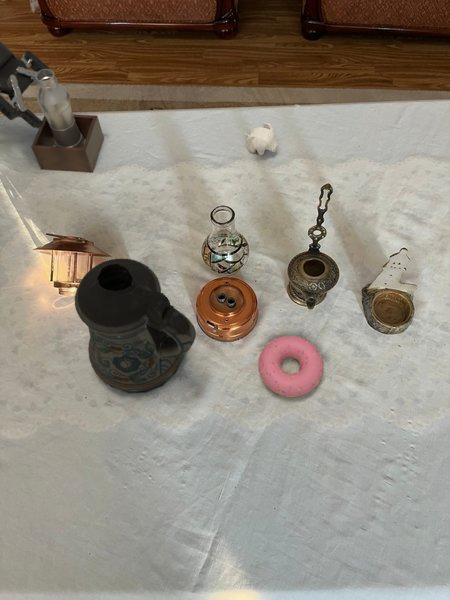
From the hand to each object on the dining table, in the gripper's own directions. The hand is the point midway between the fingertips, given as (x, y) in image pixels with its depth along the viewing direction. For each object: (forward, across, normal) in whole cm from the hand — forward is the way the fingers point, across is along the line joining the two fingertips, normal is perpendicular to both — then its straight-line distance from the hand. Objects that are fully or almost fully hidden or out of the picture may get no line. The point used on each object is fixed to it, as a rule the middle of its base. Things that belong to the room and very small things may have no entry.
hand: (51, 112), depth 106 cm
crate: (+10, 0, +8) cm, 13 cm away
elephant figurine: (+37, +16, -19) cm, 45 cm away
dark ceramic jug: (+35, -37, -16) cm, 54 cm away
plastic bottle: (+9, +1, +8) cm, 12 cm away
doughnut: (+53, -32, -34) cm, 70 cm away
